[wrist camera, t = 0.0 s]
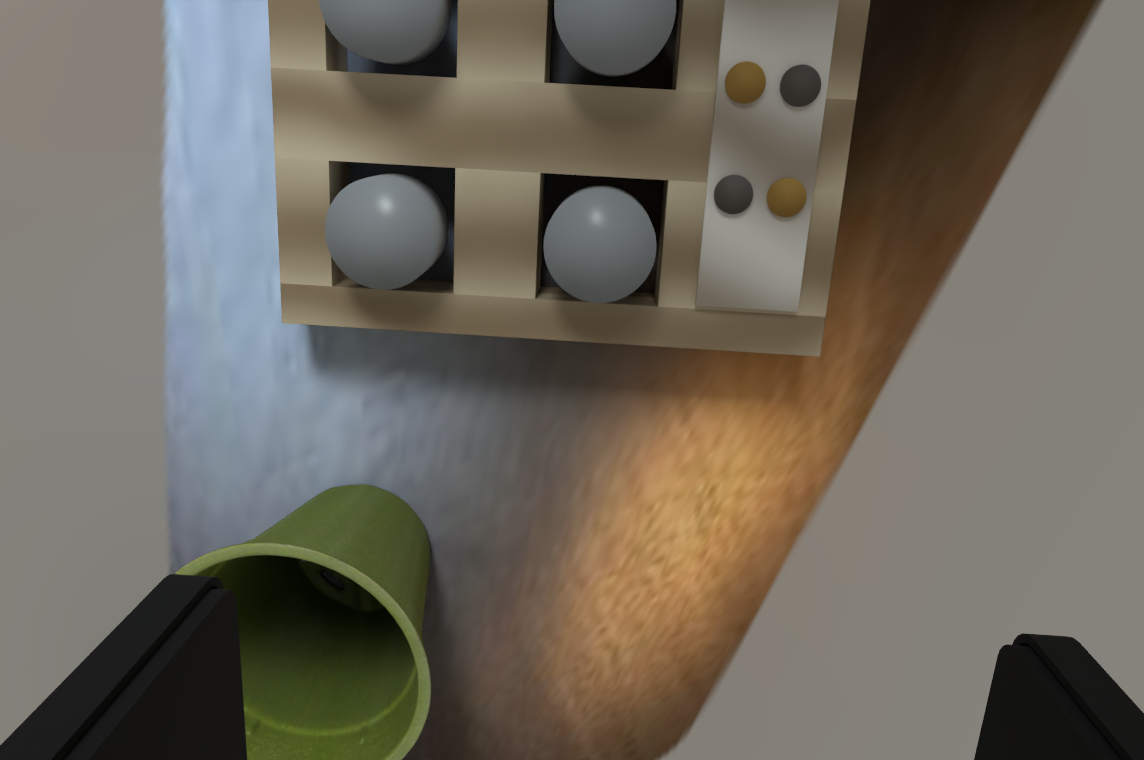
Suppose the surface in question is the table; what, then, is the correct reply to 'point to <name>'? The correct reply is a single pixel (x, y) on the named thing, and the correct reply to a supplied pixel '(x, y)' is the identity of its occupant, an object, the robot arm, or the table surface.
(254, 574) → the plant pot
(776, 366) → the table surface
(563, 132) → the board
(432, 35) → the button
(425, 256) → the button
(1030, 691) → the robot arm
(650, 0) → the button
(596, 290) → the button
